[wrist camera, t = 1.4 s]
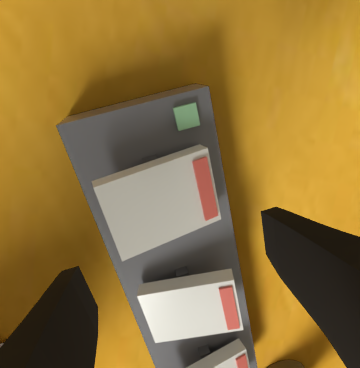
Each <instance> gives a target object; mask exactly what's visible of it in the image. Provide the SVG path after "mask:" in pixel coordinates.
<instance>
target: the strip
mask: <svg viewBox="0 0 360 368" xmlns="http://www.w3.org/2000/svg"><path fill="white" fill-rule="evenodd" d="M56 127H57V129H58V131H59V134H60V136H61V139H62V141H63V144H64V146H65V148H66V151H67V153H68V156H69V158H70V161H71V163H72V165H73V168H74V170H75V173H76V175H77V178H78V180H79V183H80V185H81V187H82V190H83V192H84V195H85V197H86V200H87V202H88V204H89V207H90V209H91V212H92V214H93V217H94V219H95V221H96V224H97V226H98V229H99V231H100V234H101V236H102V238H103V241H104V243H105V246H106V248H107V251H108V253H109V256H110V258H111V260H112V263H113V265H114V268H115V270H116V273H117V275H118V277H119V280H120V282H121V285H122V287H123V290H124V292H125V294H126V297H127V299H128V302H129V304H130V307H131V309H132V311H133V314H134V316H135V319H136V321H137V324H138V326H139V329H140V331H141V333H142V336H143V338H144V341H145V343H146V346H147V348H148V350H149V353H150V355H151V358H152V360H153V363H154V365H155V367H156V368H186V367H188V366H190V365H192V364H194V363H195V362H197V361H199V360H201V359H203V358H204V357H206V356H208V355H210V354H211V353H213V352H215V351H217V350H219V349H220V348H222V347H224V346H226V345H227V344H229V343H231V342H233V341H235V340H236V339H238V338H239V339H240V341H241V342H242V344H243V345H244V346H245V348H246V351H247V356H248V361H249V367H250V368H257V362H256V357H255V351H254V345H253V339H252V333H251V328H250V322H249V316H248V310H247V305H246V299H245V293H244V287H243V281H242V276H241V270H240V264H239V258H238V253H237V247H236V241H235V235H234V229H233V224H232V218H231V212H230V206H229V201H228V195H227V189H226V183H225V178H224V172H223V166H222V160H221V154H220V149H219V143H218V137H217V131H216V126H215V120H214V114H213V108H212V102H211V97H210V91H209V86H206V85H201V84H191V85H187V86H184V87H180V88H176V89H172V90H168V91H164V92H160V93H156V94H152V95H149V96H145V97H141V98H137V99H133V100H129V101H125V102H121V103H117V104H114V105H110V106H106V107H102V108H98V109H94V110H90V111H86V112H82V113H79V114H75V115H71V116H67V117H66V118H65V119H64V120H62V121H61V122H60V123H59V124H57V125H56ZM199 144H200V145H202V146H205V147H207V148H208V152H209V157H210V163H211V168H212V173H213V178H214V184H215V189H216V194H217V199H218V204H219V210H220V215H221V220H218V221H216V222H213V223H211V224H209V225H206V226H204V227H202V228H199V229H197V230H195V231H192V232H190V233H188V234H185V235H183V236H181V237H178V238H176V239H174V240H171V241H169V242H167V243H164V244H162V245H160V246H157V247H155V248H153V249H150V250H148V251H146V252H143V253H141V254H139V255H136V256H134V257H132V258H129V259H127V260H125V261H122V260H121V257H120V255H119V252H118V250H117V247H116V244H115V242H114V239H113V237H112V234H111V232H110V229H109V227H108V224H107V221H106V219H105V216H104V214H103V211H102V209H101V206H100V204H99V201H98V199H97V196H96V193H95V191H94V188H93V185H92V181H94V180H96V179H99V178H102V177H105V176H108V175H111V174H114V173H117V172H120V171H123V170H126V169H129V168H132V167H134V166H137V165H140V164H143V163H146V162H149V161H152V160H155V159H158V158H161V157H164V156H167V155H170V154H172V153H175V152H178V151H181V150H184V149H187V148H190V147H193V146H196V145H199ZM225 269H232V273H233V278H234V282H235V288H236V293H237V298H238V304H239V309H240V314H241V319H242V325H243V330H240V331H234V332H227V333H220V334H214V335H207V336H200V337H193V338H187V339H180V340H173V341H166V342H160V343H155V341H154V338H153V336H152V333H151V331H150V328H149V326H148V323H147V320H146V318H145V315H144V313H143V310H142V308H141V305H140V302H139V300H138V297H137V294H138V288H139V284H143V283H149V282H155V281H160V280H166V279H172V278H178V277H184V276H190V275H196V274H202V273H207V272H213V271H219V270H225Z"/></svg>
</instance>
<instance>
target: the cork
mask: <svg viewBox="0 0 360 368" xmlns="http://www.w3.org/2000/svg"><path fill="white" fill-rule="evenodd" d="M267 368H304V366H303V365H302V364H301V363H300V362H298V361H295V360H284V361H279V362H276V363H274V364H272V365H270V366H268V367H267Z"/></svg>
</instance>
